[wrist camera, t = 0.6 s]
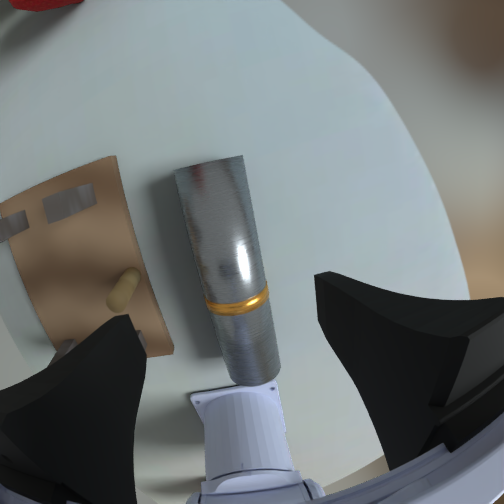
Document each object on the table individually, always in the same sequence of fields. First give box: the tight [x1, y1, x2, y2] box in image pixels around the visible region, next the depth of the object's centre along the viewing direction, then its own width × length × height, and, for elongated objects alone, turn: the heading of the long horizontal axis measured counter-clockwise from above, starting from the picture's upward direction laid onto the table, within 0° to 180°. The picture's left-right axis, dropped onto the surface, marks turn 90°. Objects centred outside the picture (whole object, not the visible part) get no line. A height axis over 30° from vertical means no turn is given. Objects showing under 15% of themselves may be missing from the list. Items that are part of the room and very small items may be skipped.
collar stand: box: [0, 156, 174, 366], centre depth 16 cm, size 15×11×6 cm
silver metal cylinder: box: [173, 155, 281, 387], centre depth 18 cm, size 15×4×4 cm, turn 10°
